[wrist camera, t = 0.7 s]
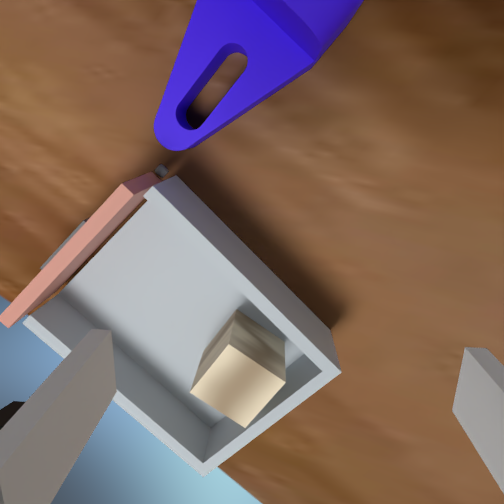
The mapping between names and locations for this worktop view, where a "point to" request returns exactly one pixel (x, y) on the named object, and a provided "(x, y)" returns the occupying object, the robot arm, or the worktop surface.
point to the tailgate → (79, 246)
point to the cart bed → (184, 321)
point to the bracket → (254, 47)
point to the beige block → (240, 369)
